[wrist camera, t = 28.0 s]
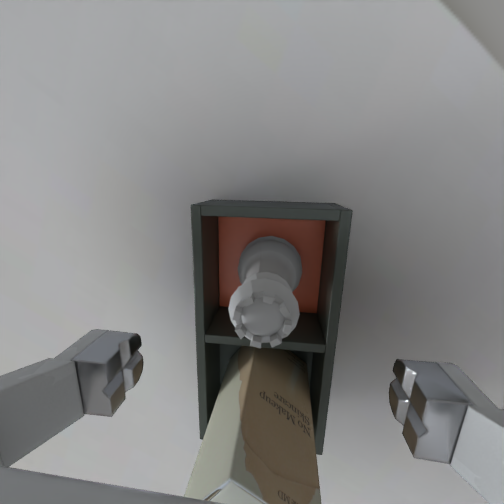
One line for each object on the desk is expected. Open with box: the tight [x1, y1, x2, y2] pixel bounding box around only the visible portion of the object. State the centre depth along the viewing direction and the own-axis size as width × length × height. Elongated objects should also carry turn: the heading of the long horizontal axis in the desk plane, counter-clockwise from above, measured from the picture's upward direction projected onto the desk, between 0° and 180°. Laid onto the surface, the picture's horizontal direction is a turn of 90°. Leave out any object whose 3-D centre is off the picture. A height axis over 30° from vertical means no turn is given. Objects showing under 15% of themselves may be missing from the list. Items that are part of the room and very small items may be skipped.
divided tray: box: [191, 200, 352, 455], centre depth 18 cm, size 9×17×4 cm, turn 179°
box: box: [184, 346, 321, 504], centre depth 16 cm, size 5×4×11 cm
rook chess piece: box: [228, 236, 302, 349], centre depth 15 cm, size 4×4×8 cm
